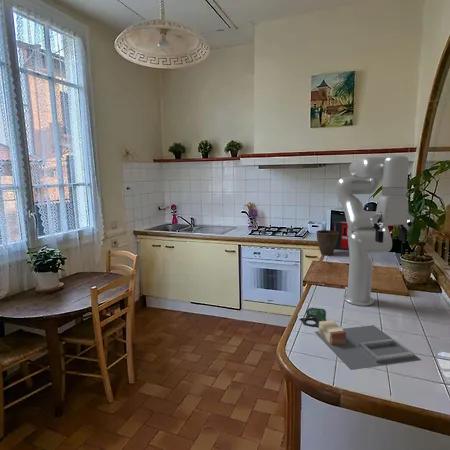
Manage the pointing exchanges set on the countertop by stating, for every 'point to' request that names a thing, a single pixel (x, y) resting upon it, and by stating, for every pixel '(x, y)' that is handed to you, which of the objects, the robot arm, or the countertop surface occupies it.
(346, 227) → the cleaning product box
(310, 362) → the countertop surface
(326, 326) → the maple block
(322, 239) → the plant pot
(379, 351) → the rubber mat
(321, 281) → the countertop surface
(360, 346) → the metal frame
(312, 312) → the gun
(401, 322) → the countertop surface
